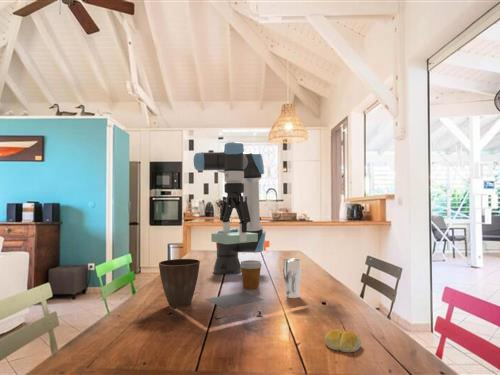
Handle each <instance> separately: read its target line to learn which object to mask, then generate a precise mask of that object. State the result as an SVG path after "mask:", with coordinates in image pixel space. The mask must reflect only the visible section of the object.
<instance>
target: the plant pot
mask: <svg viewBox="0 0 500 375" xmlns="http://www.w3.org/2000/svg"><path fill="white" fill-rule="evenodd" d="M200 263H201V261H200V260H199V259H194V258H193V259H192V258H175V259H167V260H162V261H159V262H158V270H159V276H160V280H161V284H162V288H163V291H164V295H165V298H166V301H167V303H168V305H169V308H171V307H172V308H171V309H176V308H178V307H185V306H188V305H190V304H192V301H193V297H194V295H195V294H194V293H195V292H196V286H197V282H198V278H199V271H200Z"/></svg>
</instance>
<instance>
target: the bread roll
mask: <svg viewBox="0 0 500 375" xmlns="http://www.w3.org/2000/svg"><path fill="white" fill-rule="evenodd" d="M324 343H325V345H326V346H327V347H328V348H329V349H331V350H333V351H338V352H339V351H340V352H343V353H355V352H357V351H358V350H360V348H361V345H362V340H361V338H360V337H359V335H357V334H356V332H355V333H354V332H353V331H351V330H346V331H342V330H341V329H338V328H337V329H331V330H329V331H328V332H327V333H326V334H325V337H324Z"/></svg>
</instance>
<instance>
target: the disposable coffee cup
mask: <svg viewBox="0 0 500 375" xmlns="http://www.w3.org/2000/svg"><path fill="white" fill-rule="evenodd" d="M262 265H263V264H262V263H261V261H260V260H253V259H252V260H242V261H241V262H240V267H241V272H240V273H241V278H242V279H241V280H242V286H243V289H244V290H248V291H254V290H257V289H259V287H260V279H261V268H262Z"/></svg>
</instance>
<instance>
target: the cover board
mask: <svg viewBox="0 0 500 375" xmlns="http://www.w3.org/2000/svg"><path fill="white" fill-rule="evenodd" d="M257 241H258V234H257V233H249V232H247V241H244V242H239V232H229V233H217V232H214V233H211V242H212V243H216V244H217V243H222V244H235V243H246V242H257Z"/></svg>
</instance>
